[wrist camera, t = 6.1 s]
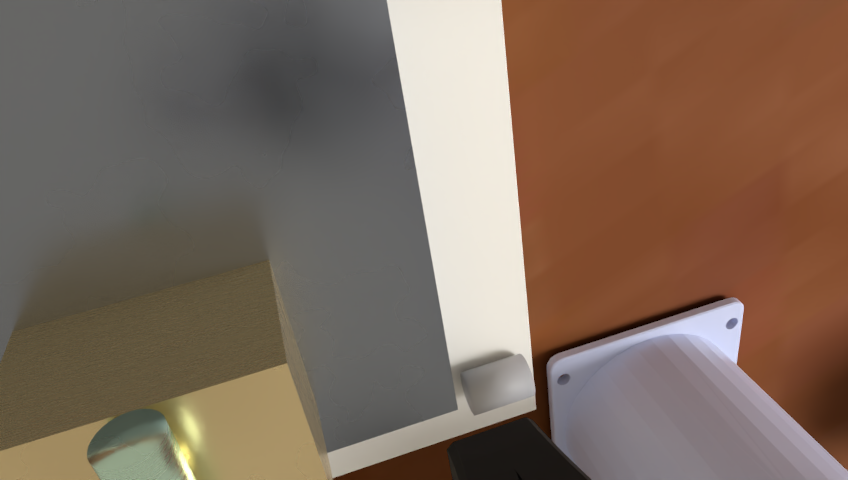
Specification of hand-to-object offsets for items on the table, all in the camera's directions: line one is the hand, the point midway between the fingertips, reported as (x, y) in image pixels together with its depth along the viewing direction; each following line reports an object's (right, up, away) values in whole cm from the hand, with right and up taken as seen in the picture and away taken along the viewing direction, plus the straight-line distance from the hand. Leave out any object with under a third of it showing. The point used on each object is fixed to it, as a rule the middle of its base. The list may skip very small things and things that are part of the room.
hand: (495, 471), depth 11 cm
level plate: (-8, +3, +6) cm, 11 cm away
